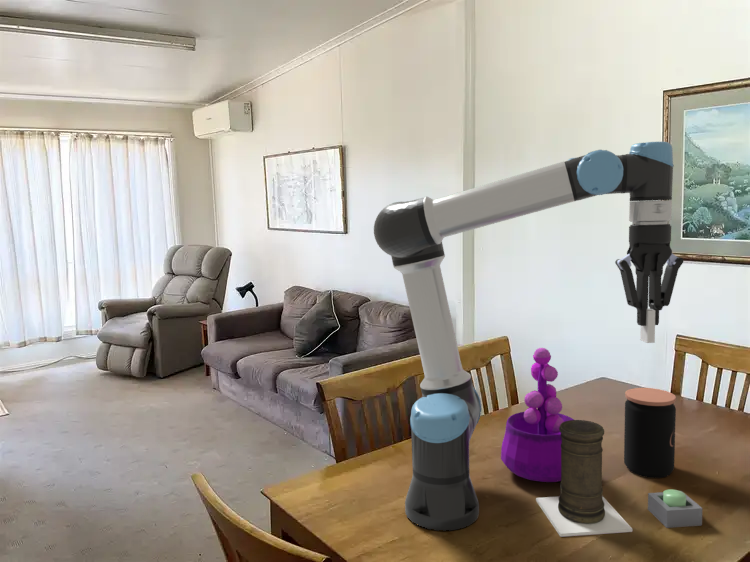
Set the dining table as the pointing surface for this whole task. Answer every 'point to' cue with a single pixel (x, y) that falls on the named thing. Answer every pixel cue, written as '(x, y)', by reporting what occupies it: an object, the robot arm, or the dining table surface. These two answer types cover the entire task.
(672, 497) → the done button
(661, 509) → the button housing
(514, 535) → the dining table surface
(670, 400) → the coffee jar
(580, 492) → the container
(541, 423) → the decorative plant
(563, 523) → the paper sheet
